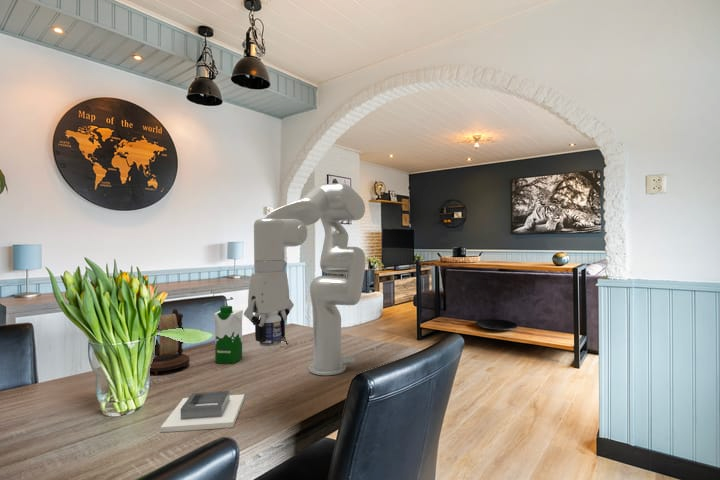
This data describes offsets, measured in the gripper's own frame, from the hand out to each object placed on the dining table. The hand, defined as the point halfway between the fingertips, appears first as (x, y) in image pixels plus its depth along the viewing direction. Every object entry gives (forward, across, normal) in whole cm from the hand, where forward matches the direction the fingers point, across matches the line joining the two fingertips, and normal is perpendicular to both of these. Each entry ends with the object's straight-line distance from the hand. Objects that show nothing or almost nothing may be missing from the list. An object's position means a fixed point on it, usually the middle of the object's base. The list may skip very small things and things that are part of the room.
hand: (270, 337), depth 95 cm
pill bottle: (+2, 0, 0) cm, 2 cm away
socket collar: (+18, +10, -13) cm, 24 cm away
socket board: (+19, +10, -13) cm, 25 cm away
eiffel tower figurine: (+20, -44, -46) cm, 67 cm away
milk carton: (+20, -18, -45) cm, 52 cm away
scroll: (+19, 0, -56) cm, 59 cm away
